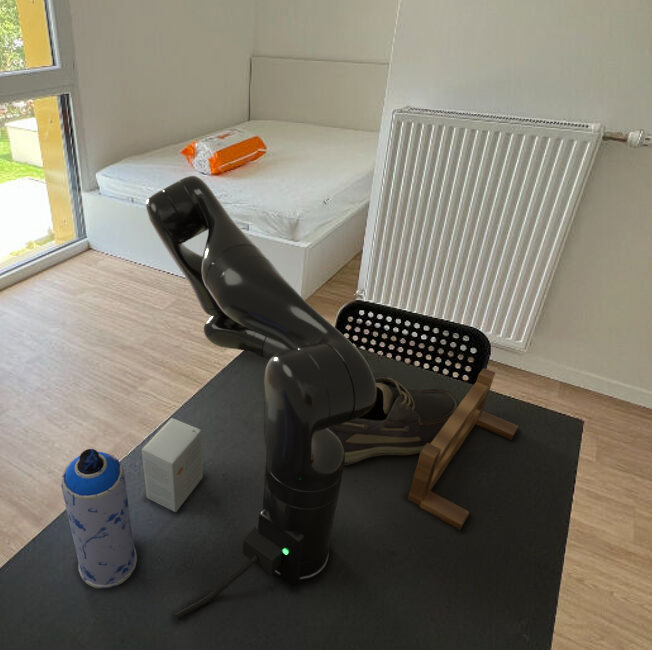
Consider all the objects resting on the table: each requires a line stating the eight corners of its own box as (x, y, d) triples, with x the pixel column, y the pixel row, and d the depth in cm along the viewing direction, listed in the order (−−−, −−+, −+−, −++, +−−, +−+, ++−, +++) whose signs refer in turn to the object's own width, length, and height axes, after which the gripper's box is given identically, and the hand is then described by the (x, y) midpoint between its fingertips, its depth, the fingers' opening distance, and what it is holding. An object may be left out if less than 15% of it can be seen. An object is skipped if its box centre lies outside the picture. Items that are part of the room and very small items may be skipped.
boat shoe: (473, 437, 92) (490, 389, 86) (326, 486, 83) (334, 435, 77) (429, 399, 100) (442, 353, 95) (292, 440, 92) (297, 391, 86)
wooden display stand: (460, 530, 76) (478, 481, 71) (406, 500, 81) (419, 452, 75) (516, 431, 93) (534, 386, 88) (469, 411, 98) (484, 367, 92)
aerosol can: (94, 531, 76) (74, 426, 66) (145, 543, 75) (133, 438, 64) (67, 580, 70) (41, 473, 59) (123, 595, 68) (105, 488, 58)
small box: (174, 464, 87) (171, 416, 82) (203, 478, 85) (202, 428, 79) (145, 498, 81) (139, 448, 76) (175, 514, 79) (172, 463, 73)
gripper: (273, 349, 97) (360, 388, 87) (312, 320, 105) (395, 353, 95) (271, 382, 101) (354, 423, 91) (309, 352, 109) (389, 386, 99)
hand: (375, 387), depth 93 cm, fingers closed
